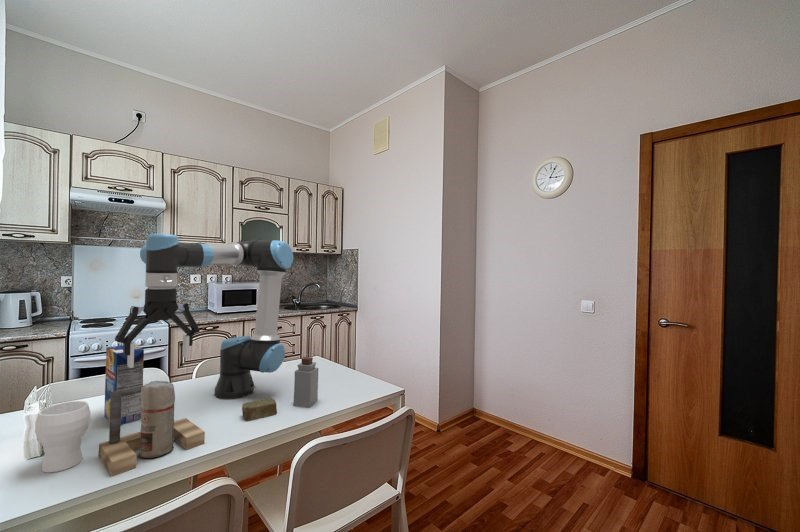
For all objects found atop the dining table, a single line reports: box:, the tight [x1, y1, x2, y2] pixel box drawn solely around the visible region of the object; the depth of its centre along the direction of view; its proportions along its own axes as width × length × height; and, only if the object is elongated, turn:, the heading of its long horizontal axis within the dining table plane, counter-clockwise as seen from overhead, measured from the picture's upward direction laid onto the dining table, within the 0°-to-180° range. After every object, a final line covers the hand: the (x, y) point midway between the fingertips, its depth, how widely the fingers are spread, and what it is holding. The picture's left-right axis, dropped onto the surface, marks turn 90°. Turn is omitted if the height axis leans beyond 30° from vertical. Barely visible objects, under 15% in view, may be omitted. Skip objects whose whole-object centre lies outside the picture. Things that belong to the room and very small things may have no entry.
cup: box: [34, 400, 92, 473], centre depth 93 cm, size 11×11×15 cm
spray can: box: [138, 380, 176, 459], centre depth 100 cm, size 8×8×20 cm
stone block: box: [241, 397, 278, 421], centre depth 126 cm, size 6×12×5 cm, turn 127°
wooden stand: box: [98, 388, 206, 477], centre depth 101 cm, size 14×22×18 cm, turn 142°
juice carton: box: [103, 344, 145, 426], centre depth 120 cm, size 12×8×24 cm, turn 53°
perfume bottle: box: [293, 356, 319, 409], centre depth 138 cm, size 7×7×18 cm
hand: (159, 361), depth 100 cm, fingers open, 13 cm apart
